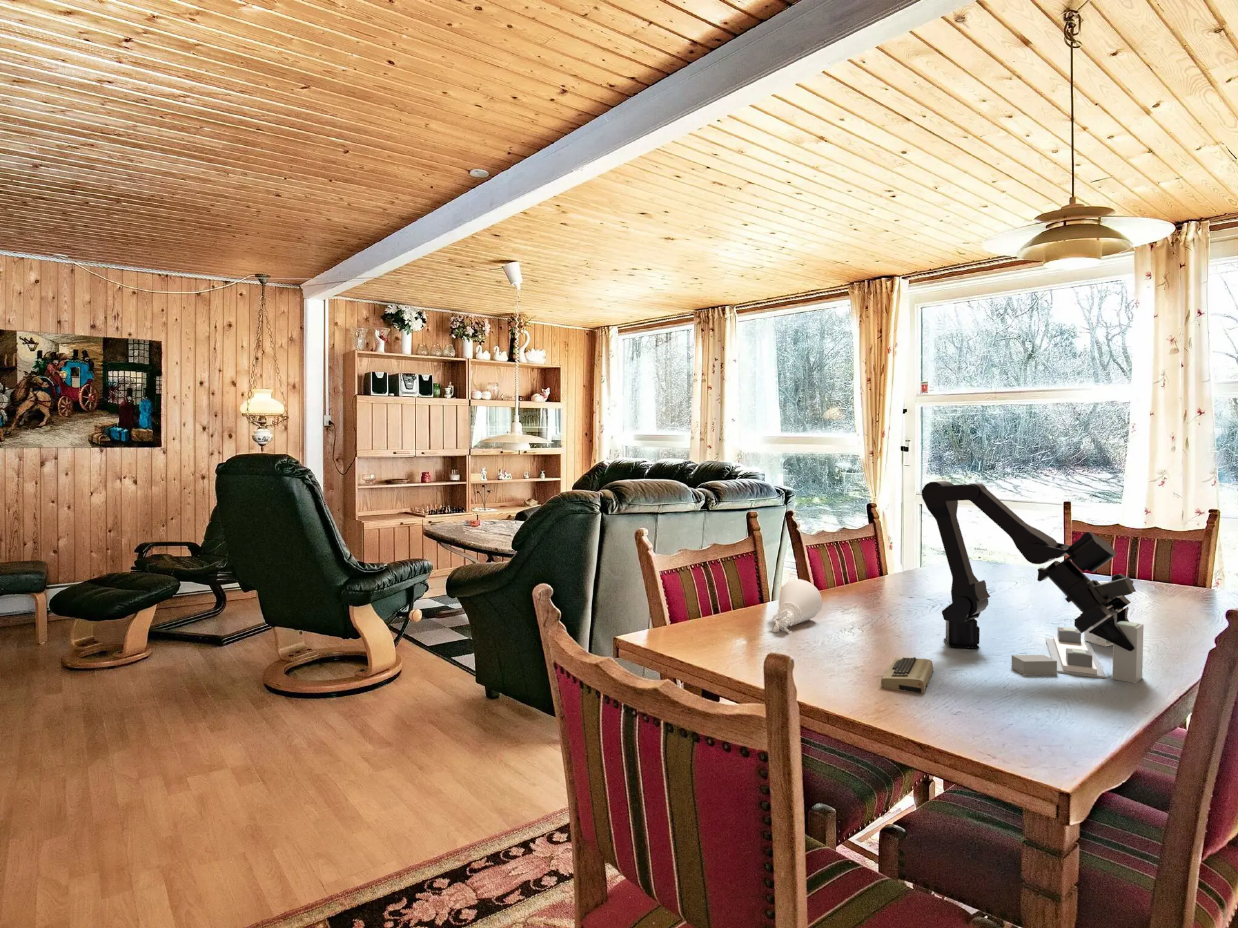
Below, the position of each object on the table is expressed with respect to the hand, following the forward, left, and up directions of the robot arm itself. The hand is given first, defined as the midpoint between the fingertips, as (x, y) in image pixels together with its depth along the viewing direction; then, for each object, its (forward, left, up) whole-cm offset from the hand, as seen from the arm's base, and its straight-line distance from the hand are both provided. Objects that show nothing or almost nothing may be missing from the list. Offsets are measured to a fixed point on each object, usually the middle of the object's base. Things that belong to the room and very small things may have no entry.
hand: (1136, 647), depth 149 cm
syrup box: (+6, +29, -7) cm, 31 cm away
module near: (-9, +5, -5) cm, 11 cm away
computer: (-45, -9, -7) cm, 47 cm away
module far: (-4, +24, -5) cm, 25 cm away
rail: (-6, +14, -7) cm, 17 cm away
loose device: (-18, +2, -7) cm, 20 cm away
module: (-1, +1, -7) cm, 7 cm away
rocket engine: (-68, +32, -7) cm, 76 cm away
